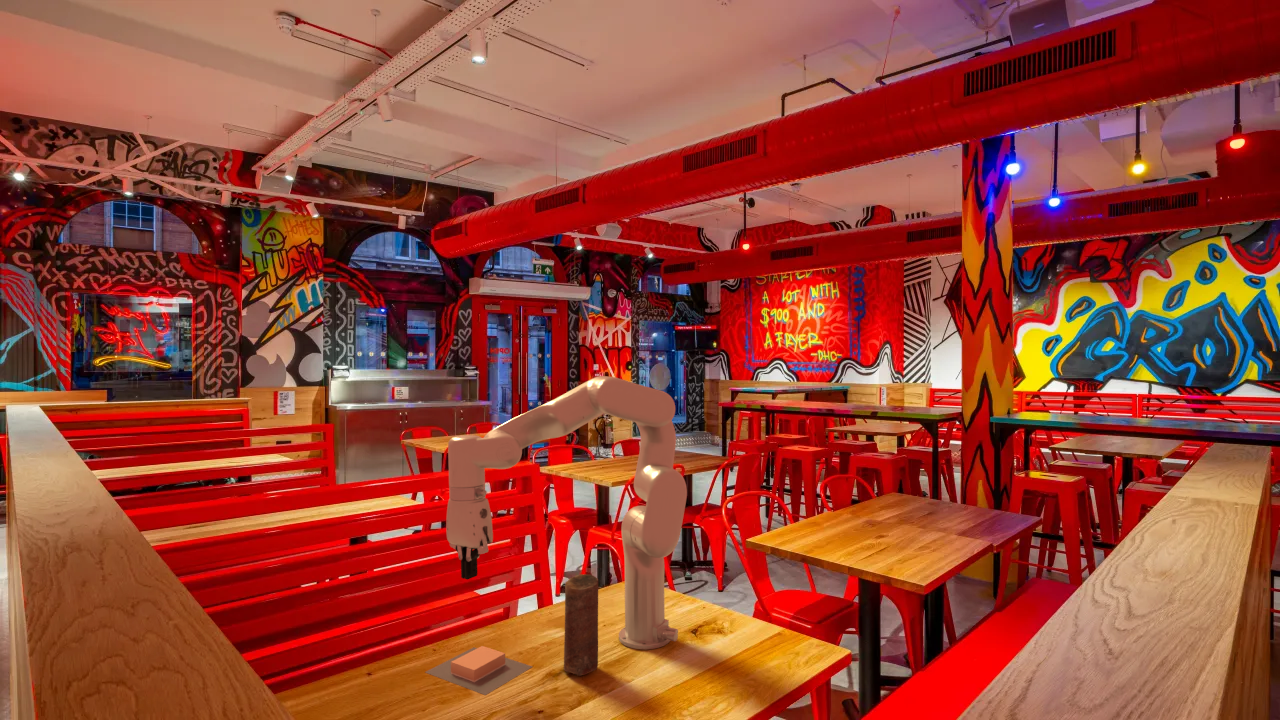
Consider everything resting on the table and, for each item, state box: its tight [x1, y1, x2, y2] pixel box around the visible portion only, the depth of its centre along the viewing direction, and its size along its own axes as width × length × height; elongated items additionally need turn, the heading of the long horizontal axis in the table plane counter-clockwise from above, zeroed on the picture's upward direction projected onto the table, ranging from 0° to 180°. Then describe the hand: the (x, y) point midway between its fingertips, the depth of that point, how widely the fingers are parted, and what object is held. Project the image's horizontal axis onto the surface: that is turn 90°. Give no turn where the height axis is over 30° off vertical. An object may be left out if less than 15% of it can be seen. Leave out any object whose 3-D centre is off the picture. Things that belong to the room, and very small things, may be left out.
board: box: [424, 646, 533, 696], centre depth 143 cm, size 18×14×1 cm
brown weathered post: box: [563, 573, 599, 677], centre depth 144 cm, size 8×7×20 cm
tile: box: [451, 645, 506, 682], centre depth 144 cm, size 2×9×7 cm
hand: (469, 576), depth 145 cm, fingers closed
